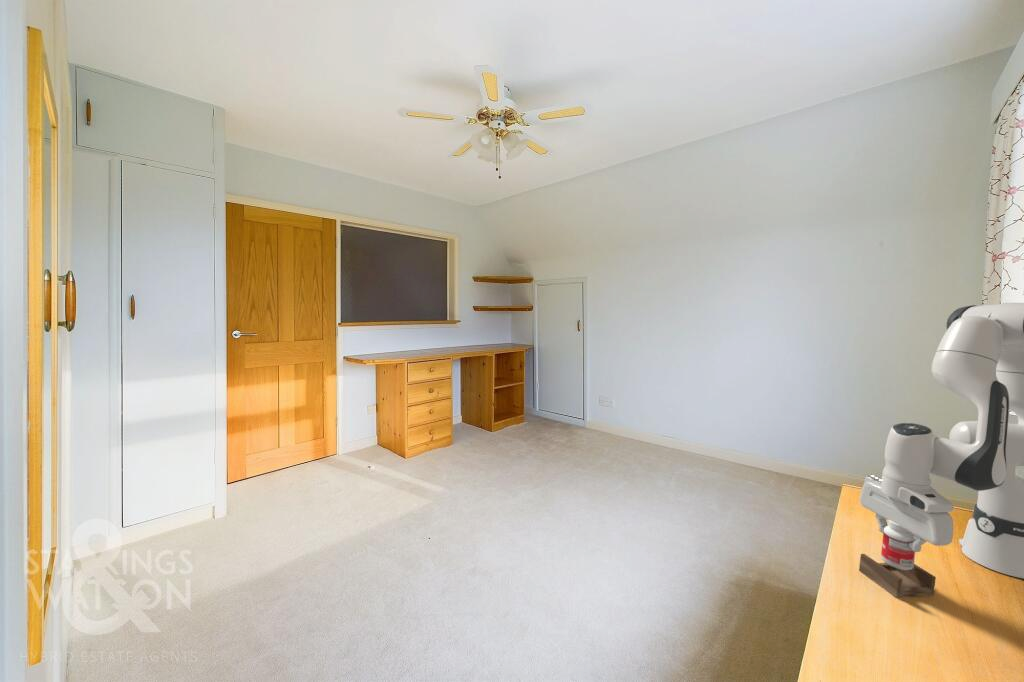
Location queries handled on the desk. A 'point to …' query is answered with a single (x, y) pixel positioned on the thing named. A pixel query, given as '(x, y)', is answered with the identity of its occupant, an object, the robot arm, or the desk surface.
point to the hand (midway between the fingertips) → (898, 541)
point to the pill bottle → (897, 547)
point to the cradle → (898, 578)
